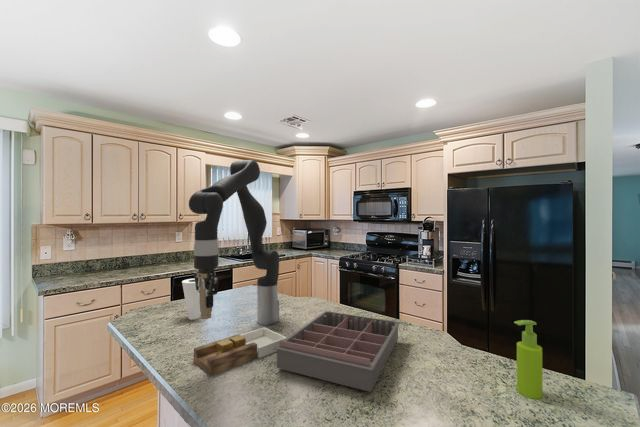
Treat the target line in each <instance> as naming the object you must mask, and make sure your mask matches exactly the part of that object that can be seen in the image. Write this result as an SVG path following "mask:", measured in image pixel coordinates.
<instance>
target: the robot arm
mask: <svg viewBox="0 0 640 427" xmlns="http://www.w3.org/2000/svg"><path fill="white" fill-rule="evenodd" d="M229 170H230V171H229V172H230V175H228V176H224V177H223V178H221V179H219V180H218V181H216V182H215V183H213V184H212V185H210V186H208V187H205V188H202V189H200V190H198V191H196V192H194V193H193V194H192V195H191V196H190V198H189V200H188V207H189V210H190V211H191V212H192V213H194V214H197V215H206V217H205V218H204V220H202V221H198V222H196V223H195V225H194V244H193V268H194V269H195V270H197V272H198V271H200V272H203V273H206V274H207V278H206V279H205V278H202V281H203V288H204V289H205V293H206V307H207V308H210V307H212V308H213V307H214V296H215V295H217V294H218V291H219V286H220V285H219V283H220V277H219V276H217V277H216V276H215V273H214V271H215V269H217V268H218V267H219V242H218V241H219V240H218V230H219V229H218V228H219V222H220V218H221V215H222V212H223V208H224V202H226V201H227V200H228V199H230V198H231V197H232V196H233V195H234V194H235V193H236V194H237V197H238V200H239V205H240V207H241V208H240V209H241V211H242V216H243V220H244V223H245V227H246V230H247V234H248V239H249V243H250V250H251V257H252V261H253V265H254V266H255V267H254V268H256V269H258V270H263V271H266V274H265V275H264V276H260V277H258V278H257V281H256V282H257V284H256V287H257V289H256V290H257V291H256V292H257V293H256V294H257V295H256V296H257V302H256V303H257V306H256V307H257V308H256V310H257V314H256V315H257V316H256V317H257V318H256V319H257V321H256V322H257V324H259V325H265V326H267V325H273V324H276V323H277V322H279V321H280V300H279V299H278V280H279V275H280V272H279V271H280V256H279V252H278V251H277V250H275V249H265V248H264V245H263V244H264V243H263V236H264V234H265V231H266V228H267V223H268V222H267V217H266V214H265V209H264V208H263V206H262V205H261V203H260V202H259V201H258V200H257V198H255V197H254V196H253V194H252V193H251V192H250V190H249V188H248V186H247V185H249V184H252V183H255V181H257V180H258V179H259V177H260V174H261V169H260V166H259V163H258V162H257V161H256V160H254V159H245V160H238V161H237V160H236V161H232V163H231V164H230V168H229ZM197 272H194V273H193V277H194V278H195V284H196V290H198V292H199V293H200V288H201V279H200V278H198V277H197ZM206 285H209V286H206ZM208 289H209V291H208Z"/></svg>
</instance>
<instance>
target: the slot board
mask: <svg viewBox="0 0 640 427" xmlns="http://www.w3.org/2000/svg"><path fill="white" fill-rule="evenodd" d="M238 335H240V334H235V335H232V336H229V337H226V338H222V339H220V340H215V341H213V342H210V343H206V344H203V345H200V346H197V347H193V361H192V362H193V363H195V365H197V366H198V367H199V368H201V369H202V370H203V371H204V372H206V374H208V375H209V376H210V377H211V376H215V375H217V374H220V373H222V372H224V371H226V370H229V369H232V368H234V367H237V366H239V365H243V364H244V363H247V362H249V361H251V360H254V359H258V351H257V344H256V343H254V342H253V343H250V344H247V345H244V346H242V347H239V348H236V349H233V350H230V351H227V352H225V353H222V354H219V355H217V354H216V342H219V341H222V340H225V339H228V340H230V338H232V337H235V336H238Z"/></svg>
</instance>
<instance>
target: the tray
mask: <svg viewBox="0 0 640 427" xmlns="http://www.w3.org/2000/svg"><path fill="white" fill-rule="evenodd" d="M240 335H241V336H243V337H245V338H246V345H247V344H250V343H253V342H254V343H256V344H257V351H258V357H257V359H261V358H263V357H267V356H268V355H271V354H274V353H277V349H274V347H276V346H277V345H278V344H280V340H282V341H284V340H285V339H287V338H288V337H287V336H285V335H282V334H280V333H279V332H276V331H274V330H271V329H270V328H268V327H265V326H263V327H259V328H256V329H254V330H251V331H247V332H244V333H242V334H240Z"/></svg>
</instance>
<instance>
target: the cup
mask: <svg viewBox="0 0 640 427" xmlns="http://www.w3.org/2000/svg"><path fill="white" fill-rule="evenodd" d="M181 284H182V289H183V290H182V291H183V293H184V294H183V295H184V300H185V301H184V302H185V304H186V305H185V306H186V311H187V317H188V320H189V319H190V321H194V320H198V319H200V318H201V312H200V293H199V292H198V290H196V284H195V277H194V278H187V279H184V280H182V281H181Z"/></svg>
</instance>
